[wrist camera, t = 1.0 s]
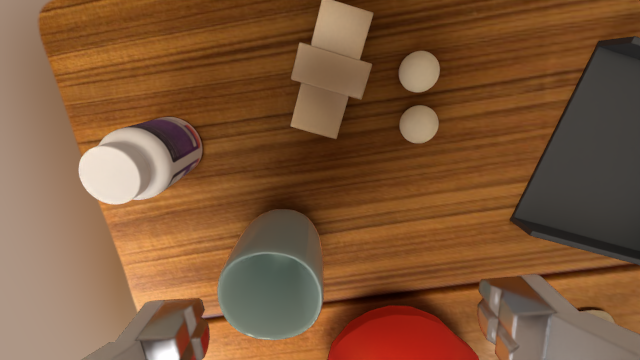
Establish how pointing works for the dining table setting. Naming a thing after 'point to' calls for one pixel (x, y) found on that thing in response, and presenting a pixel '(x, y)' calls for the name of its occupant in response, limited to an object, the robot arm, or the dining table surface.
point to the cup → (274, 277)
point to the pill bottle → (140, 160)
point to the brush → (331, 68)
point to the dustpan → (593, 162)
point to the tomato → (399, 337)
